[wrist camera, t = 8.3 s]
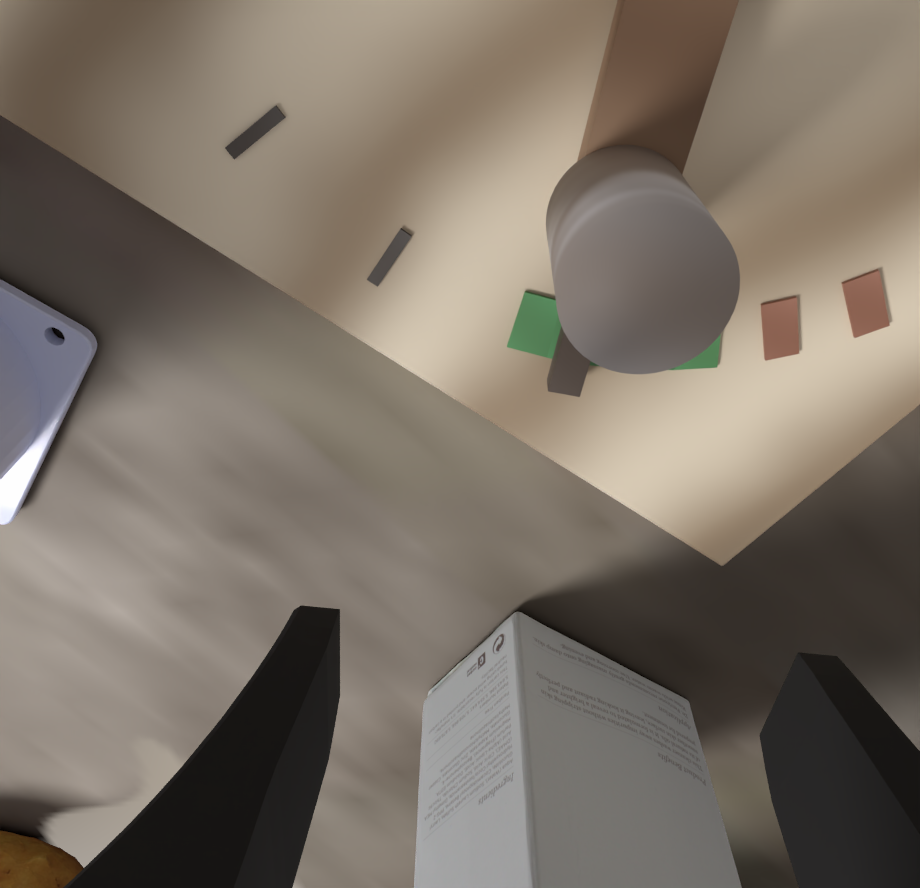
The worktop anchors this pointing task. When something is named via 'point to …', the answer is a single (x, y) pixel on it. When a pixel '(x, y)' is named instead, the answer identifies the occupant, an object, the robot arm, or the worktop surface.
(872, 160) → the dial board
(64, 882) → the potato
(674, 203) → the lever
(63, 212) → the worktop surface
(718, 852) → the skincare box
